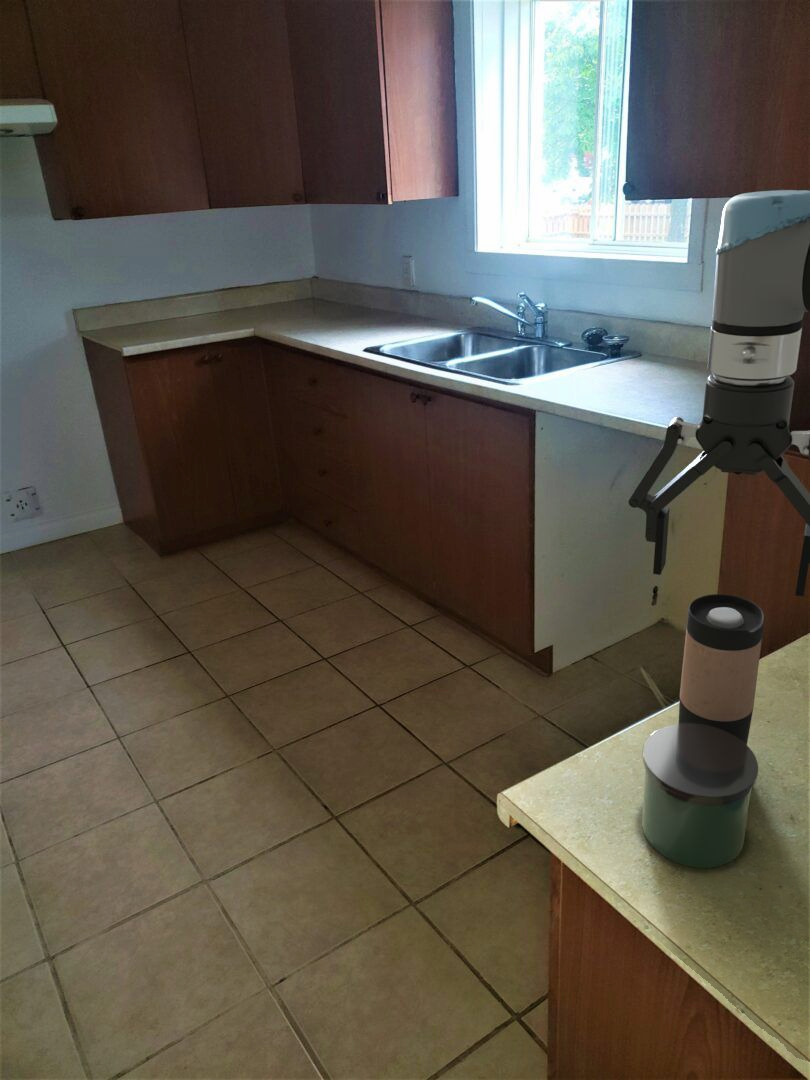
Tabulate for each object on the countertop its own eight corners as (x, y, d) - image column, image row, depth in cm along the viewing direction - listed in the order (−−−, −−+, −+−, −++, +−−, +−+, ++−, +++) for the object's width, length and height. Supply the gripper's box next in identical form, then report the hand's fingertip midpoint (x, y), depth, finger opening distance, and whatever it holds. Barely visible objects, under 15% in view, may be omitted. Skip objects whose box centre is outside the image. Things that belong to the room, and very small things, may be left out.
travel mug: (671, 736, 98) (683, 591, 89) (739, 741, 96) (758, 594, 88) (677, 781, 91) (691, 629, 83) (750, 787, 90) (772, 632, 81)
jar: (739, 797, 88) (748, 726, 84) (756, 877, 79) (768, 801, 75) (635, 788, 91) (640, 719, 87) (640, 865, 81) (645, 791, 77)
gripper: (603, 378, 77) (597, 576, 86) (910, 394, 66) (865, 618, 75) (622, 359, 83) (614, 546, 92) (906, 370, 72) (865, 581, 81)
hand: (727, 579), depth 84 cm, fingers open, 13 cm apart
